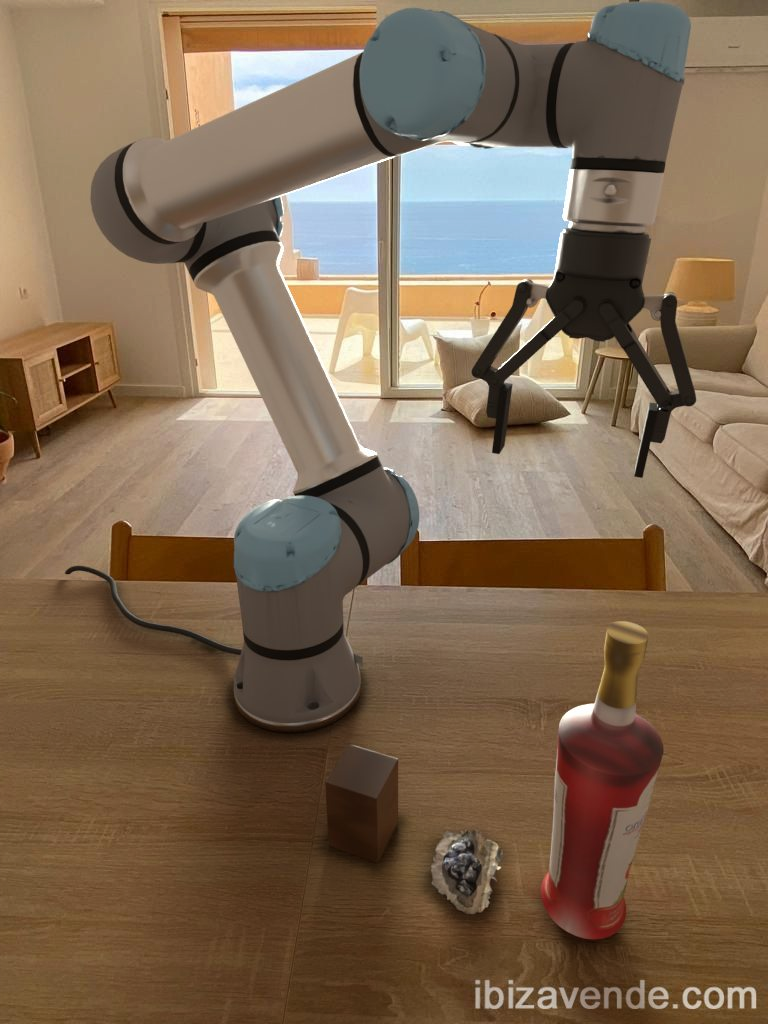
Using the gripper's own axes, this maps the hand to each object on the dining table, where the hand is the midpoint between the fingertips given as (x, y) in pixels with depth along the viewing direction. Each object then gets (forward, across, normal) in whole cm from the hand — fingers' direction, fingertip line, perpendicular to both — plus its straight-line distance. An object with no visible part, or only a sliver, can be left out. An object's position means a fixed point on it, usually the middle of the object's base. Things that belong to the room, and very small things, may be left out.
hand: (566, 461), depth 68 cm
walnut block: (+32, -11, -23) cm, 41 cm away
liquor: (+31, +9, -24) cm, 40 cm away
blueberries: (+31, -1, -24) cm, 39 cm away
